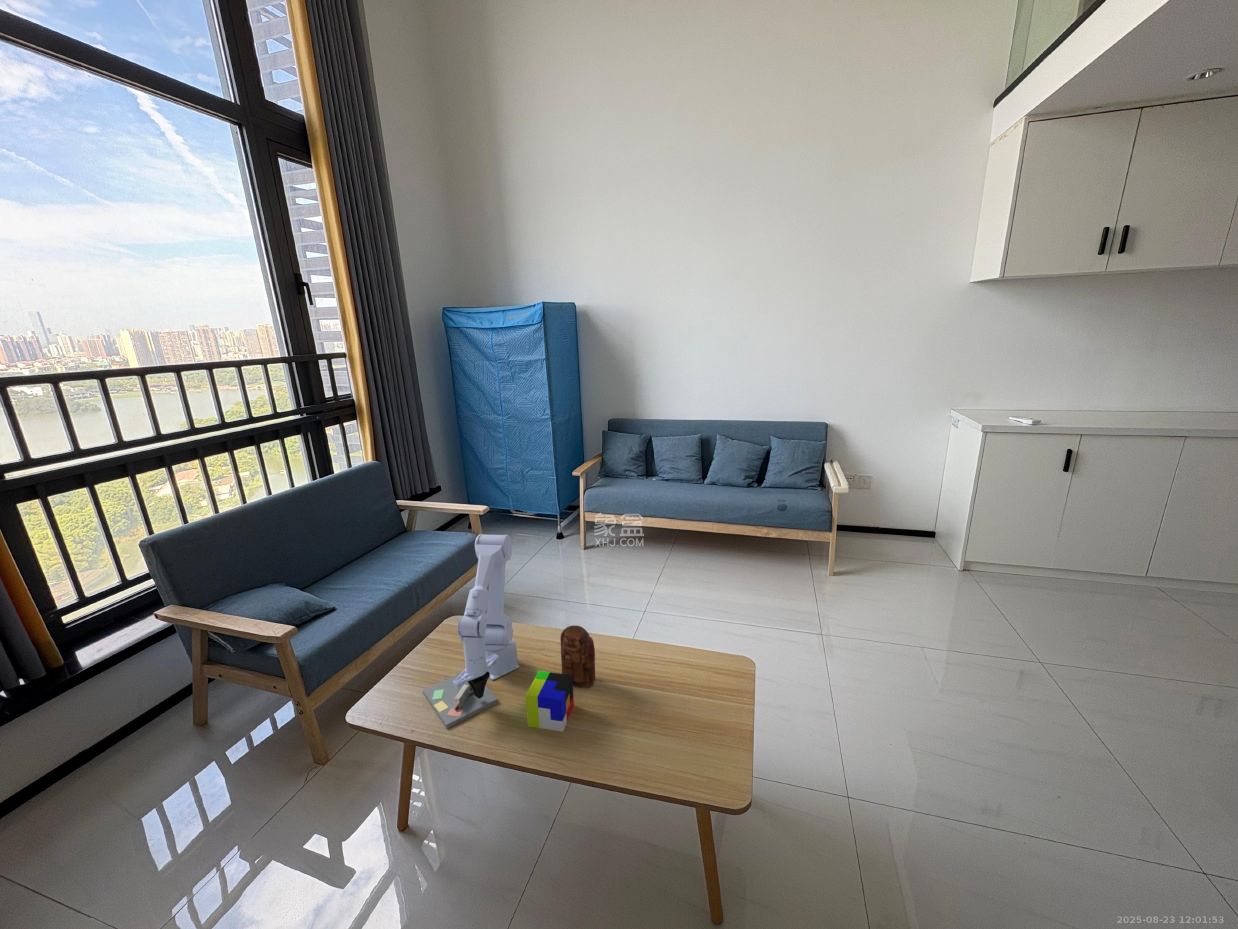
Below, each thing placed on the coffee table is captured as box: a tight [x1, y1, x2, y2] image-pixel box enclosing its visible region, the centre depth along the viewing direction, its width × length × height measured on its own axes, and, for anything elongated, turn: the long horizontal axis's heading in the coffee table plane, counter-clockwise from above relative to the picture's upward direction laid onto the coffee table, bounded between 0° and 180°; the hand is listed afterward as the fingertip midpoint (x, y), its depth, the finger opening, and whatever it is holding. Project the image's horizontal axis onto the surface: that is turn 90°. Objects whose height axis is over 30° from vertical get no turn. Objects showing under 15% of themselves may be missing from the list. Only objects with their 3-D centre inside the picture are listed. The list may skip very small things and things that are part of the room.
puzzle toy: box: [525, 670, 575, 733], centre depth 135 cm, size 10×10×10 cm
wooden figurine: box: [560, 625, 596, 689], centre depth 148 cm, size 12×6×18 cm, turn 72°
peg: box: [454, 683, 474, 710], centre depth 141 cm, size 10×4×3 cm, turn 170°
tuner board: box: [422, 672, 498, 729], centre depth 143 cm, size 15×18×1 cm
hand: (479, 696), depth 140 cm, fingers closed
